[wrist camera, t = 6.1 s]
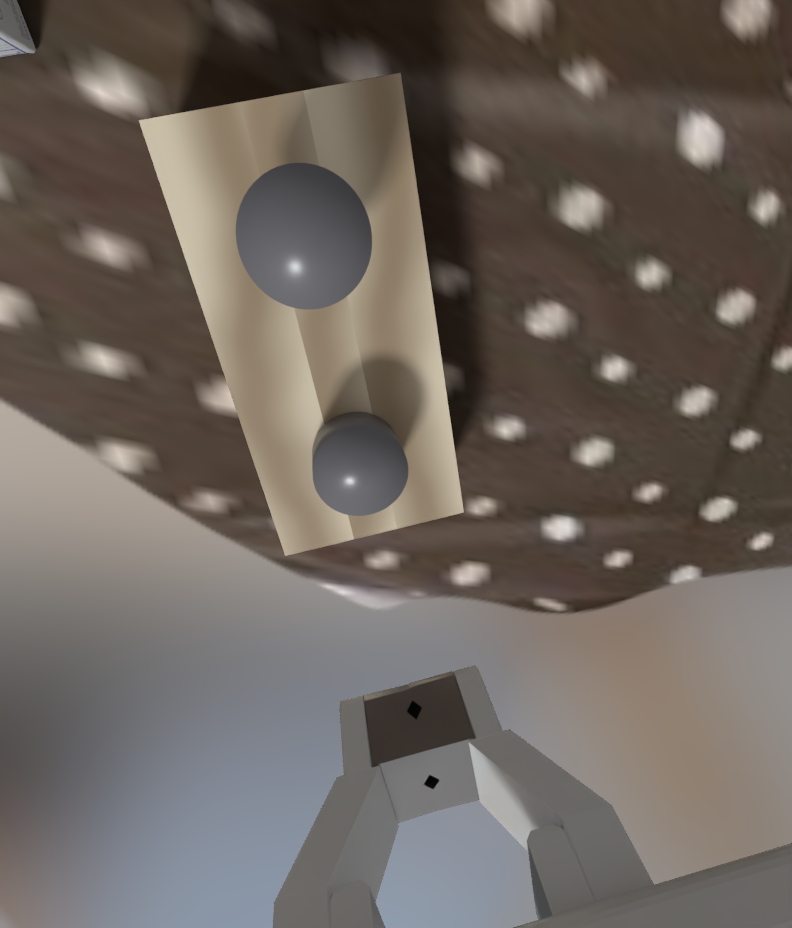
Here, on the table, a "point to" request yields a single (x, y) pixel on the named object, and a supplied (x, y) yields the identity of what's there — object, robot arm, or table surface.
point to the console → (326, 329)
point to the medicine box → (13, 30)
